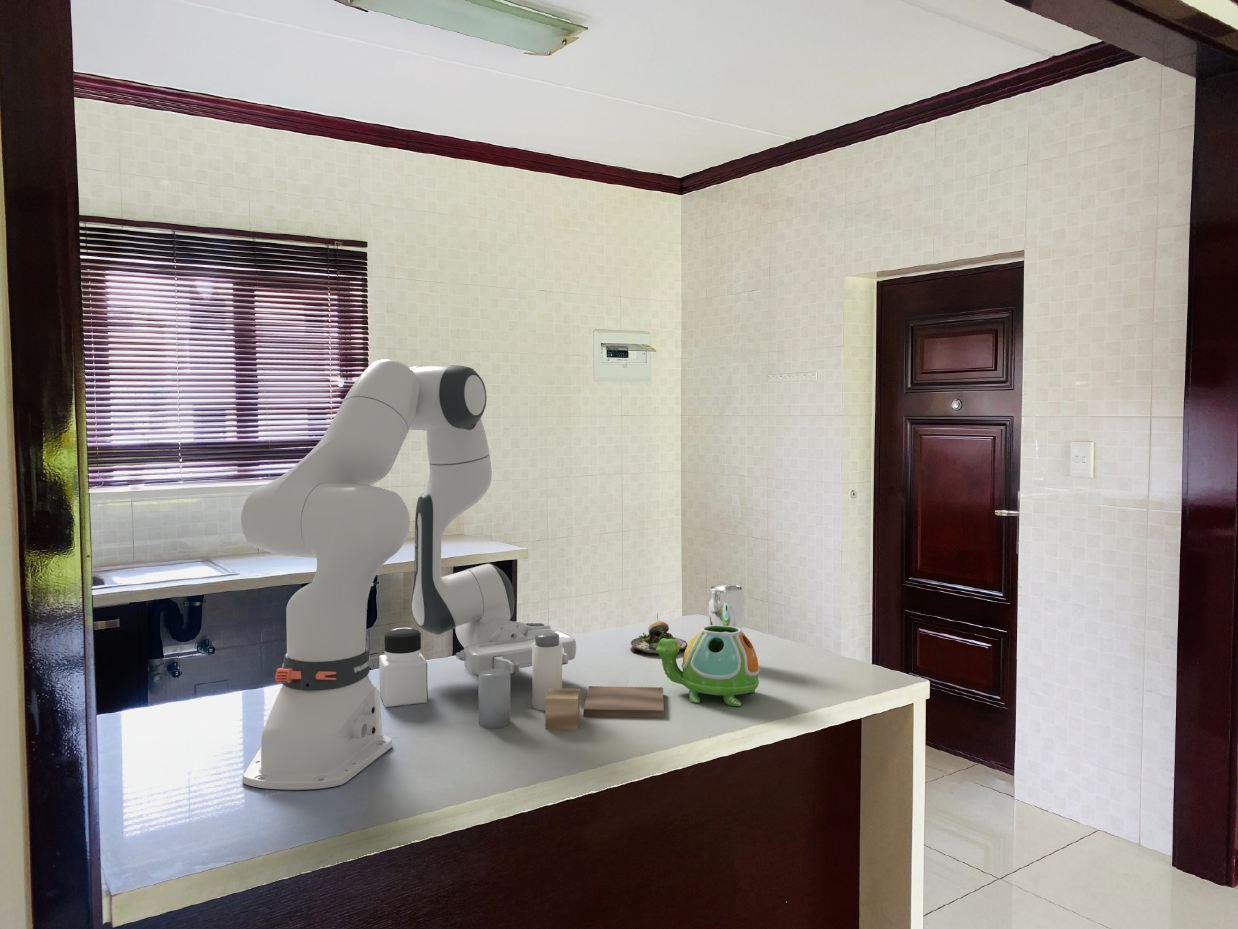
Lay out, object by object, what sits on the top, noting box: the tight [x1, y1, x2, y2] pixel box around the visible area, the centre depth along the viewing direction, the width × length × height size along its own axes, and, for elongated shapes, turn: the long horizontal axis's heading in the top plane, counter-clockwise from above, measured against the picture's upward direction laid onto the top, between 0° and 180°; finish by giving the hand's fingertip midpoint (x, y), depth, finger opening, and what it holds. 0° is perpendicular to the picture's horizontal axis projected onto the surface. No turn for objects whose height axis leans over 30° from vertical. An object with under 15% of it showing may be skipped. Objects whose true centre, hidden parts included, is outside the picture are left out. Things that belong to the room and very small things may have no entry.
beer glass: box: [708, 583, 745, 633], centre depth 178 cm, size 7×7×15 cm
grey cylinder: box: [477, 669, 511, 729], centre depth 144 cm, size 5×5×8 cm
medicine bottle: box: [378, 627, 428, 708], centre depth 155 cm, size 7×7×12 cm
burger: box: [630, 614, 688, 654], centre depth 187 cm, size 12×12×8 cm
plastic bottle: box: [531, 632, 563, 711], centre depth 152 cm, size 5×5×12 cm
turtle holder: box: [656, 624, 761, 707], centre depth 158 cm, size 12×18×12 cm
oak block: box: [544, 687, 581, 731], centre depth 144 cm, size 5×5×5 cm
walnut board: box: [582, 685, 665, 719], centre depth 153 cm, size 12×13×1 cm
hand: (540, 664), depth 154 cm, fingers open, 8 cm apart
